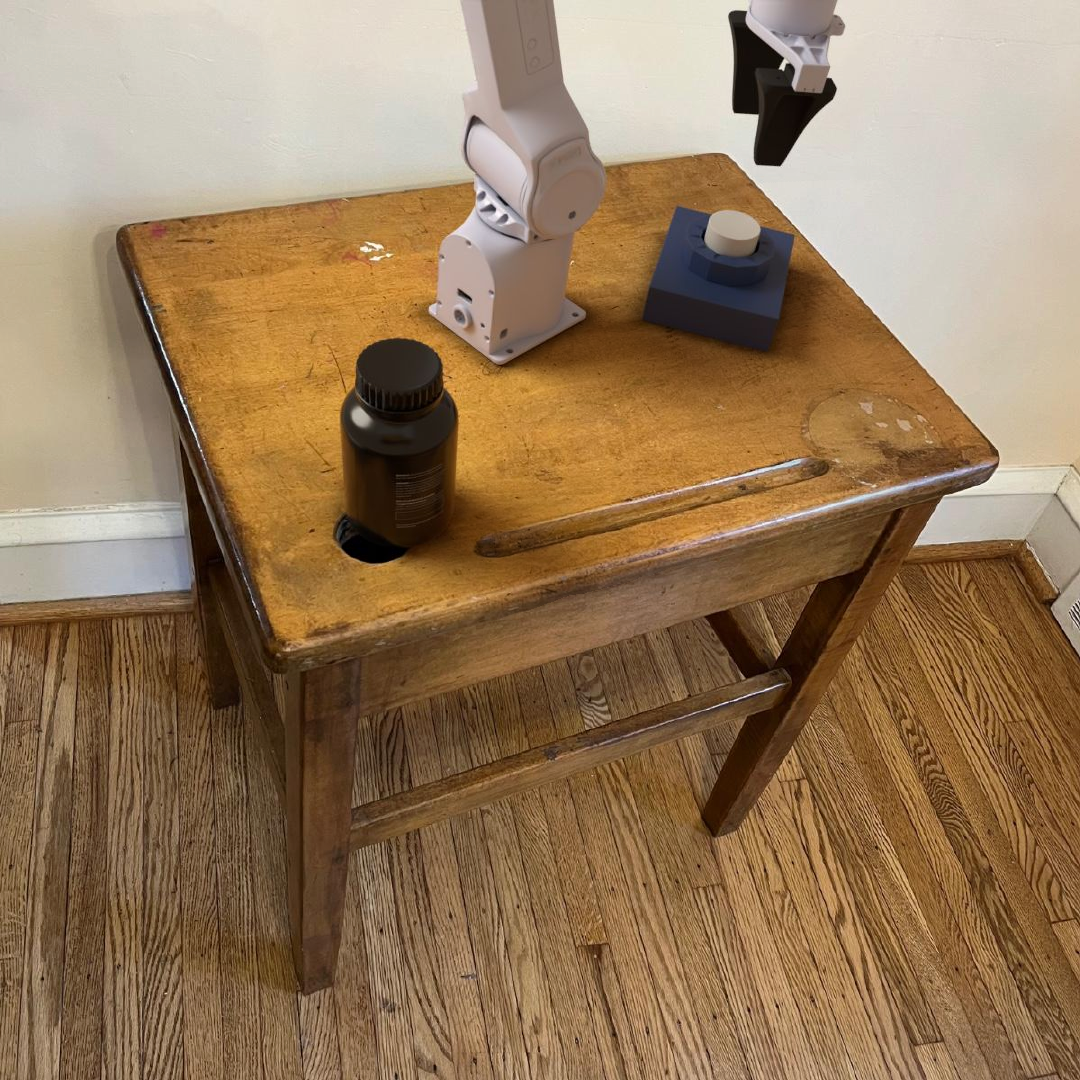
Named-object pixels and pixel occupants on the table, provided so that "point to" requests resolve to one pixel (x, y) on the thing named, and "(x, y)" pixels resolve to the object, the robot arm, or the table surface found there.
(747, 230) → the cylinder
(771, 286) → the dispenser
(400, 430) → the supplement bottle
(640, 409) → the table surface
